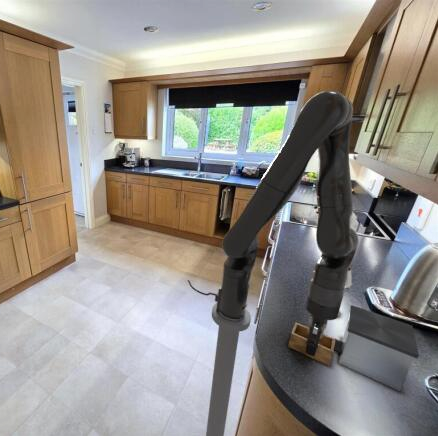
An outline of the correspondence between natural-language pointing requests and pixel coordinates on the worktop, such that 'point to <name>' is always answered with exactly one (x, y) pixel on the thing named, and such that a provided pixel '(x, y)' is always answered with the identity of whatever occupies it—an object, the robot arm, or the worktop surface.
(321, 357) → the open wooden box
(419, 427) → the worktop surface
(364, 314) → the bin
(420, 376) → the worktop surface
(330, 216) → the robot arm
